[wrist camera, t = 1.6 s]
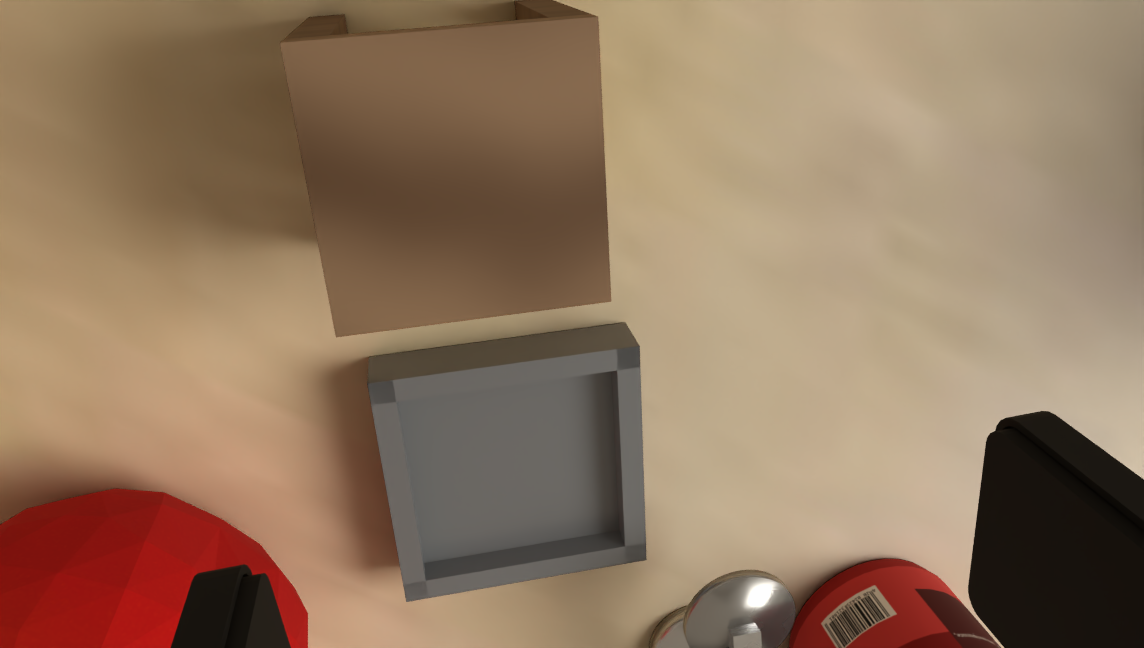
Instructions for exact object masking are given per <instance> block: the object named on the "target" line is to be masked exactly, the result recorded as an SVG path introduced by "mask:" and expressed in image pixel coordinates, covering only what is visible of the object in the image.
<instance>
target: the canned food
mask: <svg viewBox="0 0 1144 648" xmlns="http://www.w3.org/2000/svg"><path fill="white" fill-rule="evenodd" d="M789 648H1001V647H1000V646H999V645H998V644H997V643H996V641H995V640H994V639H993V638H992V637H991V636H990V635H989V633H988V632H987V631H986V630H985V629H984V628H983V627H982V625H981V624H980V623H979V622H978V621H977V620H976V618H975V617H974V616H973V615H972V614H971V613H970V612H969V610H968V609H967V608H966V607H965V606H964V605H963V603H962V602H961V601H960V600H959V599H958V598H957V597H956V595H955V594H954V593H953V592H952V591H951V590H950V589H949V587H948V586H947V585H946V584H945V583H944V582H943V581H942V580H941V579H940V578H939V577H938V576H936V575H935V574H933V573H931V572H929V571H928V570H926V569H924V568H922V567H921V566H919V565H917V564H915V563H913V562H909V561H905V560H901V559H880V560H873V561H869V562H865V563H862V564H859V565H856V566H854V567H851V568H849V569H847V570H845V571H843V572H841V573H839V574H838V575H836V576H835V577H833V578H832V579H830V580H829V581H827V582H826V583H825V584H824V585H823V586H821V587H820V588H819V589H818V590H817V591H816V592H815V593H814V594H813V595H812V596H811V597H810V598H809V600H808V601H807V602H806V603H805V604H804V606H803V607H802V609H801V611H800V612H799V614H798V616H797V617H796V619H795V622H794V625H793V627H792V630H791V635H790V641H789Z"/></svg>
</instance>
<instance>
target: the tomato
mask: <svg viewBox="0 0 1144 648" xmlns="http://www.w3.org/2000/svg"><path fill="white" fill-rule="evenodd" d="M242 564H245V565H248V567H249V568H250V569H251V572H252V574H253V575H256V574H261V573H265V574H266V575H267V576H268V578H269V580H270V583H271V586H272V589H273V592H274V595H275V599H276V602H277V605H278V608H279V611H280V614H281V618H282V621H283V624H284V627H285V630H286V633H287V637H288V640H289V643H290V646H291V648H308V613H307V611H306V609H305V607H304V605H303V603H302V601H301V599H300V597H299V596H298V594H297V592H296V590H295V588H294V587H293V585H292V584H291V583H290V582H289V580H288V579H287V578H286V576H285V575H284V574H283V573H282V571H281V570H280V569H279V568H278V566H277V565H276V564H275V563H274V561H273V560H272V559H271V558H270V556H269V555H268V554H267V552H266V551H265V550H264V549H263V547H262V546H261V545H260V544H259V543H257V542H256V541H254V540H253V539H251V538H250V537H248V536H247V535H245V534H244V533H242V532H241V531H239V530H237V529H236V528H234V527H233V526H231V525H230V524H228V523H227V522H225V521H224V520H222V519H220V518H218V517H216V516H214V515H212V514H210V513H207V512H205V511H203V510H201V509H199V508H197V507H195V506H192V505H190V504H188V503H186V502H184V501H182V500H180V499H177V498H175V497H173V496H171V495H169V494H167V493H164V492H152V491H140V490H127V489H111V490H106V491H101V492H96V493H91V494H87V495H82V496H78V497H73V498H69V499H64V500H60V501H56V502H52V503H48V504H44V505H40V506H36V507H31V508H27V509H25V510H23V511H22V512H20V513H19V514H17V515H15V516H14V517H12V518H10V519H9V520H7V521H6V522H4V523H2V524H1V525H0V648H170V647H171V644H172V641H173V638H174V635H175V632H176V629H177V626H178V623H179V619H180V616H181V613H182V610H183V607H184V604H185V601H186V598H187V595H188V591H189V588H190V585H191V582H192V580H193V578H194V576H195V575H196V574H197V573H201V572H206V571H211V570H216V569H222V568H227V567H232V566H237V565H242Z"/></svg>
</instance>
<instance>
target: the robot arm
mask: <svg viewBox="0 0 1144 648" xmlns="http://www.w3.org/2000/svg"><path fill="white" fill-rule="evenodd" d="M968 593H969V598H970V601H971V604H972V607H973V609H974V611H975V612H976V614H977V615H978V617H979V618H980V619H981V620H982V622H983V623H984V624H985V625H986V626H987V627H988V629H989V630H990V631H991V632H992V633H993V635H994V636H995V637H996V638H997V639H998V640H999V642H1000V643H1001V644H1002V645H1003V646H1004V648H1144V479H1142V478H1141V477H1139V476H1138V475H1137V474H1135V473H1134V472H1133V471H1131V470H1130V469H1129V468H1127V467H1126V466H1124V465H1123V464H1122V463H1120V462H1119V461H1118V460H1116V459H1115V458H1114V457H1112V456H1111V455H1109V454H1108V453H1107V452H1105V451H1104V450H1103V449H1101V448H1100V447H1099V446H1097V445H1096V444H1094V443H1093V442H1092V441H1090V440H1089V439H1088V438H1086V437H1085V436H1083V435H1082V434H1081V433H1079V432H1078V431H1077V430H1075V429H1074V428H1073V427H1071V426H1070V425H1068V424H1067V423H1066V422H1064V421H1063V420H1062V419H1060V418H1059V417H1058V416H1056V415H1054V414H1053V413H1051V412H1048V411H1040V412H1035V413H1030V414H1024V415H1019V416H1014V417H1009V418H1005V419H1003V420H1001V421H1000V422H999V423H998V425H997V427H996V430H995V431H994V432H992V433H990V435H989V436H988V438H987V441H986V448H985V456H984V464H983V472H982V480H981V488H980V496H979V504H978V512H977V520H976V528H975V537H974V545H973V553H972V561H971V569H970V577H969V585H968ZM170 648H291V646H290V643H289V640H288V637H287V633H286V630H285V627H284V624H283V621H282V618H281V614H280V611H279V608H278V605H277V602H276V599H275V595H274V592H273V589H272V586H271V583H270V580H269V578H268V576H267V575H266V574H265V573H261V574H256V575H253V574H252V572H251V569H250V568H249V567H248V565H245V564H242V565H237V566H232V567H227V568H222V569H216V570H211V571H206V572H201V573H197V574H196V575H195V576H194V578H193V580H192V582H191V585H190V588H189V591H188V595H187V598H186V601H185V604H184V607H183V610H182V613H181V616H180V619H179V623H178V626H177V629H176V632H175V635H174V638H173V641H172V644H171V647H170Z"/></svg>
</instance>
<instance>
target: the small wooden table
mask: <svg viewBox="0 0 1144 648" xmlns="http://www.w3.org/2000/svg"><path fill="white" fill-rule="evenodd" d="M515 10H516V20H513V21H501V22H489V23H476V24H464V25H452V26H439V27H427V28H415V29H402V30H390V31H378V32H365V33H353V34H348V33H347V27H346V20H345V14H342V15H329V16H316V17H309V18H308V19H306V20H305V21H304V22H303V23H302V24H301V25H300V26H298V27H297V28H296V29H295V30H294V31H293V32H292V33H290V34H289V35H288V36H287V37H286V38H285V39H284V40H282V41H281V42H280V47H281V52H282V57H283V62H284V68H285V73H286V78H287V83H288V88H289V94H290V99H291V104H292V109H293V115H294V120H295V125H296V130H297V136H298V141H299V146H300V151H301V156H302V162H303V167H304V172H305V177H306V183H307V188H308V193H309V198H310V204H311V209H312V214H313V219H314V225H315V230H316V235H317V240H318V245H319V251H320V256H321V261H322V266H323V272H324V277H325V282H326V287H327V293H328V298H329V303H330V308H331V313H332V319H333V324H334V329H335V334H336V337H342V336H349V335H357V334H365V333H373V332H380V331H388V330H396V329H403V328H411V327H419V326H426V325H434V324H442V323H449V322H457V321H465V320H472V319H480V318H488V317H496V316H503V315H511V314H519V313H526V312H534V311H542V310H549V309H557V308H565V307H572V306H580V305H588V304H595V303H603V302H611V285H610V263H609V241H608V220H607V198H606V176H605V154H604V132H603V110H602V89H601V67H600V45H599V23H598V17H597V16H595V15H592V14H589V13H586V12H584V11H581V10H578V9H575V8H573V7H570V6H567V5H564V4H561V3H559V2H556V1H553V0H522V1H515Z"/></svg>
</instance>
